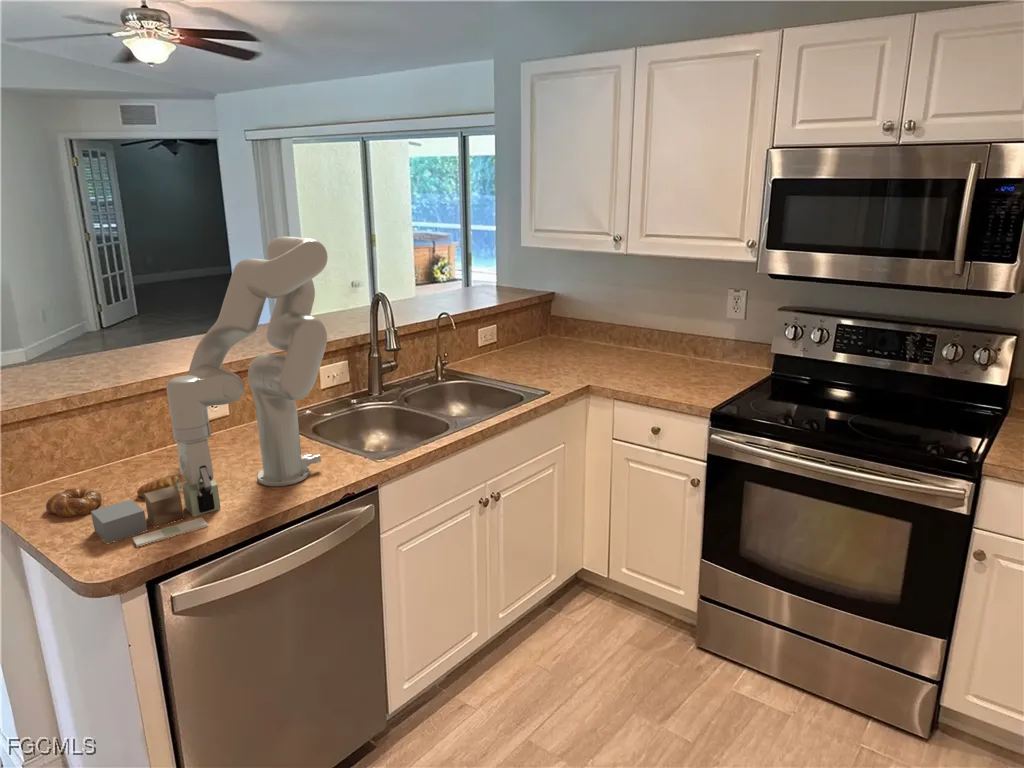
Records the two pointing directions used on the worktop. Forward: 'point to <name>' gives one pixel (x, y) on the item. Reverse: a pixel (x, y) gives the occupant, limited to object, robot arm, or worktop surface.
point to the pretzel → (74, 502)
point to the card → (169, 531)
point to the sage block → (192, 500)
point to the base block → (119, 521)
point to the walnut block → (164, 506)
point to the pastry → (160, 485)
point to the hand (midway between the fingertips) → (202, 504)
